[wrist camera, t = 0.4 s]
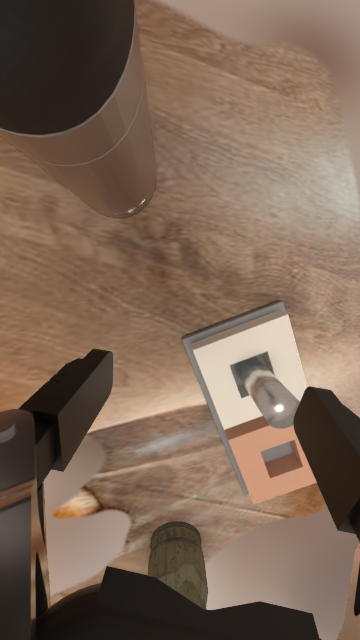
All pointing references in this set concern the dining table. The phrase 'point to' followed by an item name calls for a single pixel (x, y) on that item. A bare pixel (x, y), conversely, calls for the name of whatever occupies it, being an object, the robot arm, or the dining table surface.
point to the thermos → (179, 561)
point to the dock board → (239, 408)
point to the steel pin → (267, 393)
